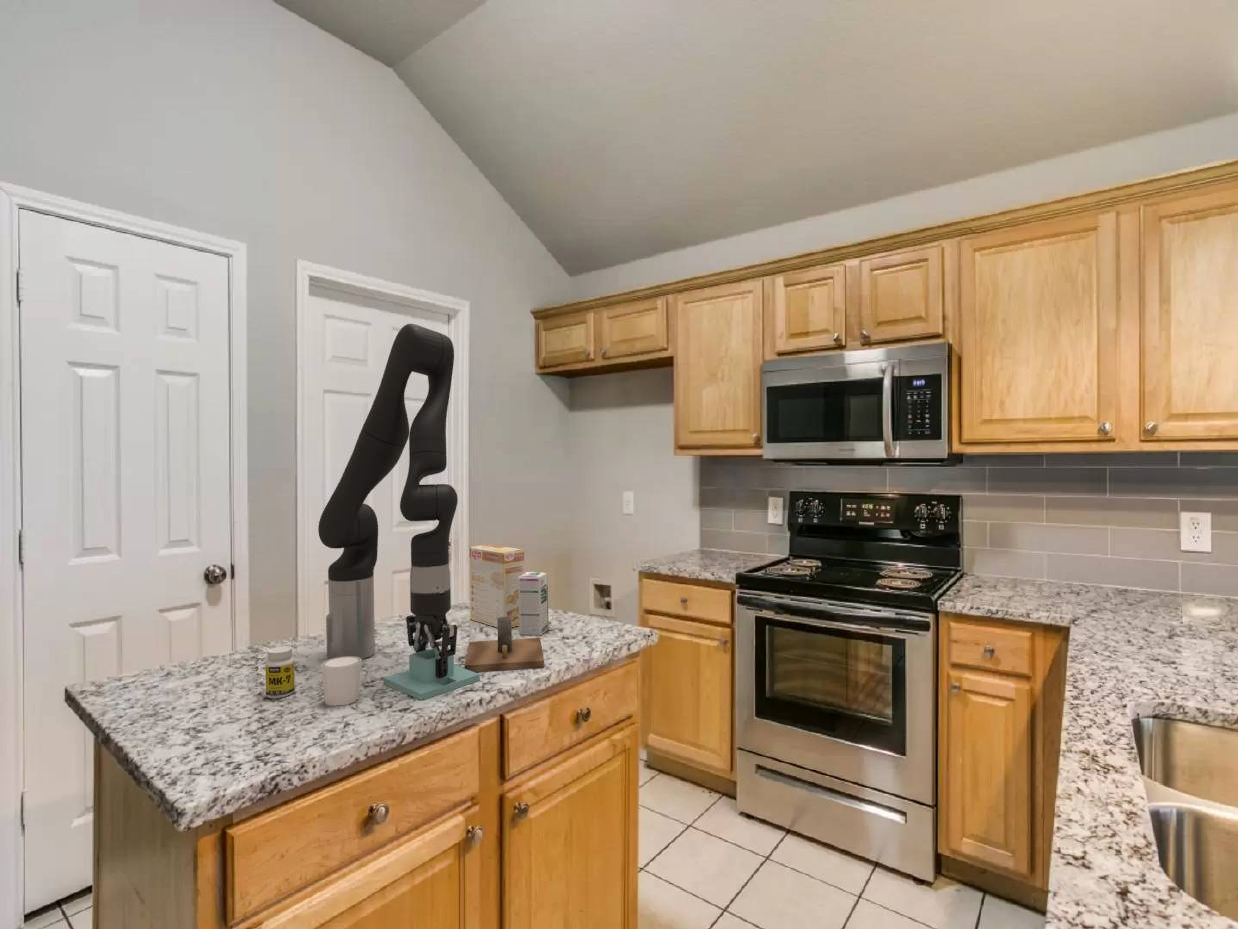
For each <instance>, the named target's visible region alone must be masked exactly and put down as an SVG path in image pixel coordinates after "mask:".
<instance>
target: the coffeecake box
mask: <svg viewBox="0 0 1238 929" xmlns="http://www.w3.org/2000/svg"><path fill="white" fill-rule="evenodd" d="M523 574H525V549H522V548H515V547H509V546H503V545H497V544H492V543H491V544H490V543H488V544H481V545H479V544H478V545H475V546H474V545H473V546H469V592H470V593H469V596H470V598H469V599H470V600H469V601H470V602H469V604H470V605H469V606H470V608H469V609H470V611H469V612H470V618H469V619H470V620H471V619H472V620H471V621H476V622H478V623H480V624H485V625H488V626H490V627H493V626H494V628H496V629H498V625H497V619H498V618H500V617H511V618H512V627H513V628H517V627H516V626H518V627H519V591H518V577H519V576H521V575H523Z"/></svg>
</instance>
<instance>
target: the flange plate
mask: <svg viewBox="0 0 1238 929" xmlns="http://www.w3.org/2000/svg"><path fill="white" fill-rule="evenodd" d="M426 649H427V650H424V651H420V652H417V653H416V652H414V653H411V654H408V661H409V662H408V665H409V666H408V669H407V670H403V671H401V672H397V673H393V674H390V675H388V676H385V677H383V678H382V681H383V685H386V686H388V687H389V688H392V687H393V688H392V689H394V688H395V689H394V690H396V689H397V690H396V691H399V692H401V693H404V694H405V693H407V694H406V695H408V694H409V695H408V696H410V695H411V696H410V697H412V696H413V697H412V698H414V697H416V698H415V699H417V698H418V699H417V700H419V699H421V700H422V699H425V700H427V699H430V698H433V697H436V696H438V694H439V695H442V694H444V693H448V692H450V691H453V690H456V689H459V688H462V687H464V686H467V685H470V684H472V683H473V684H474V683H476V682H479V681H480V680H481V679H480V678H481V676H480V675H481V674H480V673H479V672H472V671H470V670H467V669H465V667H461V666H459V665H455V663H454V659H455V658H454V657H455V655H452V656H449V657H448V674H447V676H446V677H443V678H437V677H436V656H435V652H434V649H433V648H431V647H430V648H426ZM439 649H440V652H441V647H439ZM441 693H442V694H441ZM435 695H436V696H435ZM432 696H433V697H432ZM421 700H420V701H421ZM422 701H423V700H422Z"/></svg>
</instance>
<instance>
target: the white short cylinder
mask: <svg viewBox="0 0 1238 929" xmlns="http://www.w3.org/2000/svg"><path fill="white" fill-rule="evenodd" d="M362 664H363V659H361V658H359V657H355V656H344V657H337V658H332V659H329V660H327V659H326V660H324V661H323V662H321V664H320V670H321V671H320V672H321V677H322V678H321V679H322V687H323V688H322V689H323V694H324V695H323V696H324V703H325V704H326V705H327V706H329V705H342V706H346V705H350V703H351V704H353V703H355V702H357V701H358V700H359V698H360V689H361V678H362V677H361V676H362V666H363V665H362ZM357 699H358V700H357ZM356 700H357V701H356ZM352 702H353V703H352Z"/></svg>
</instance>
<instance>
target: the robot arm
mask: <svg viewBox="0 0 1238 929" xmlns="http://www.w3.org/2000/svg"><path fill="white" fill-rule="evenodd" d="M454 349H455V347H454V344H453V341H452V339H451V338H450V337H448V336H447V335H446V334H444V333H441V332H438V331H435V330H432V329H429V328H427V327H423V326H422V325H418V324H414V323H408V324H404V325H403V326H402V327H401V328H400V330H399V331H398V333H397V334H396V336H395V338H394V340H393V343H392V346H391V350H390V352H389V355H388V358H387V362H386V364H385V367H384V371H383V375H382V378H381V381H380V384H379V387H378V389H377V392H376V394H375V397H374V400H373V402H372V405H371V407H370V410H369V412H368V414H367V417H366V419H365V421H364V423H363V425H362V427H361V430H360V432H359V435H358V436H357V440H356V443H355V444H354V448H353V451H352V453H351V455H350V457H349V460H348V462H347V464H346V466H345V469H344V471H343V472H342V476H341V477H340V480H339V482H338V484H337V486H336V488H335V489H334V490H333V493H332V495H331V496H330V498H329V500H328V501H327V503H326V505H325V507H324V509H323V511H322V513H321V515H320V518H319V521H318V527H317V528H318V536H319V539H320V542H321V543H322V545H324V546H325V547H326V548H329V549H343V551H342V553H341V555H340V556H339V557H338V558H337V559H336V560H335V561H334V562H332V563H331V564H330V565H329V567H328V570H327V581H328V583H327V584H328V586H327V588H328V614H327V615H326V617H325V624H326V625H325V627H326V628H325V629H326V630H325V631H326V632H325V634H326V636H325V638H326V660H329V659H332V658H337V657H344V656H355V657H359V658H361V659H362V660H363V659H367V658H369V657H372V656H373V655H375V652H376V650H375V649H376V638H375V637H376V635H375V634H376V633H375V632H376V631H375V630H376V629H375V628H376V627H375V625H376V624H375V623H376V622H375V582H374V581H375V580H374V579H375V578H374V577H375V576H374V572H375V567H376V564H377V561H378V550H379V549H378V547H379V523H378V517H377V515H376V512H375V510H374V509H373V508H372V506H370V505H369V504H367V503H364V502H365V500H366V498H367V497H368V495H370V493H371V492H372V491H373V490H374V489H375V488H376V487H377V486H378V485H379V484H380V482H382V481H383V480H384V479H385V478H386V476H388V475H389V474H390V472H392V470H393V469H394V468H395V466H396V465H397V464H398V462H399V460H400V458H401V456H402V454H403V451H404V450H405V447H406V445H407V442H408V447H409V448H408V449H409V450H408V451H409V452H408V453H409V457H408V458H409V460H408V463H409V464H408V471H407V475H406V476H407V477H406V480H405V484H404V486H403V490H402V493H401V497H400V501H399V508H400V512H401V515H402V516H403V518H404V519H405V520H407V521H409V522H429V521H430V522H431V521H433V522H434V521H438V524H437V526H436V527H435V528H433V529H432V530H429V531H426V532H420V533H418V534H417V533H416V534H415V535H413V536H412V537H411V539H410V574H409V593H410V594H409V595H410V596H409V597H410V599H409V603H410V606H409V607H410V613H411V615H407V616H406V617H405V620H406V621H405V622H406V629H407V630H406V632H407V642H408V646H409V647H412V648H413V650H414V652H415V653H417V652H420V651H424V650H427V649H428V646H429V645H430V646H429V647H430V649H431V648H433V649H434V652H435V656H436V677H437V678H443V677H446V676H447V674H448V657H449V656H452V655H454V656H455V655H456V652H457V651H456V649H457V637H458V626H457V624H452V625H450V623H448V620H447V619H448V618H447V616H446V615H447V613H448V612H449V611H450V610H451V609H452V604H451V603H452V600H451V599H452V596H451V595H452V594H451V591H452V590H451V571H450V565H449V564H450V556H449V555H450V554H449V552H450V550H449V547H450V546H449V545H450V544H449V543H450V534H451V528H452V524H453V521H454V517H455V514H456V511H457V507H458V503H459V502H458V500H459V499H458V494H457V493H458V492H457V491H456V489H455V487H453V486H452V485H450V484H447V483H436V484H435V483H434V484H433V483H432V484H420V482H421V481H422V480H423V479H425V478H426V477H429V476H432V475H437V474H441V473H443V472H444V471H445V470H446V469H447V465H448V464H447V462H448V461H447V458H448V457H447V456H448V455H447V417H448V408H449V402H450V395H451V394H450V393H451V386H452V380H453V373H454V372H453V371H454V366H455V365H454V364H455V362H454V361H455V350H454ZM412 373H416V374H421V375H423V376H427V382H428V383H427V384H428V391H427V396H426V398H425V400H424V402H423V404H422V406H421V407H420V409H419V410H418V412H417V413H416V415H415V417H414V418H413V420H412V422H411V426H410V424H409V418H408V413H407V409H406V403H405V402H406V401H405V393H406V388H407V384H408V381H409V379H410V376H411V374H412ZM440 646H441V647H440ZM439 648H440V649H441V652H440V649H439Z"/></svg>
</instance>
